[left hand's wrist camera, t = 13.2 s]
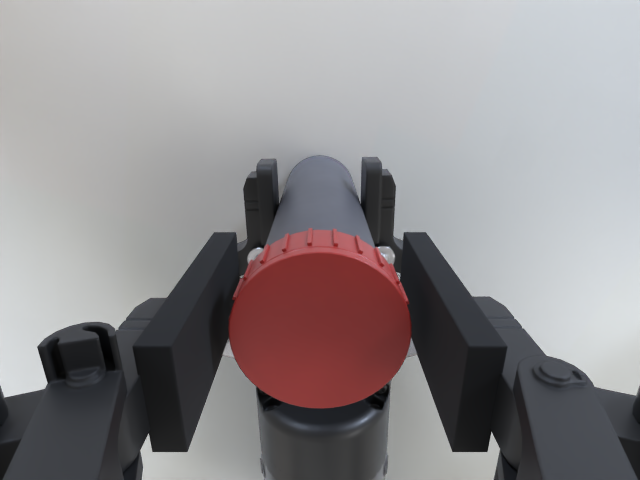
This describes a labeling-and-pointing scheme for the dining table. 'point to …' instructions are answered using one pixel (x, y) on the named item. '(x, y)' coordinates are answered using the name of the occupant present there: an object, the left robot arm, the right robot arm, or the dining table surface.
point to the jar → (320, 201)
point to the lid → (320, 320)
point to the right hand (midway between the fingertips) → (319, 162)
